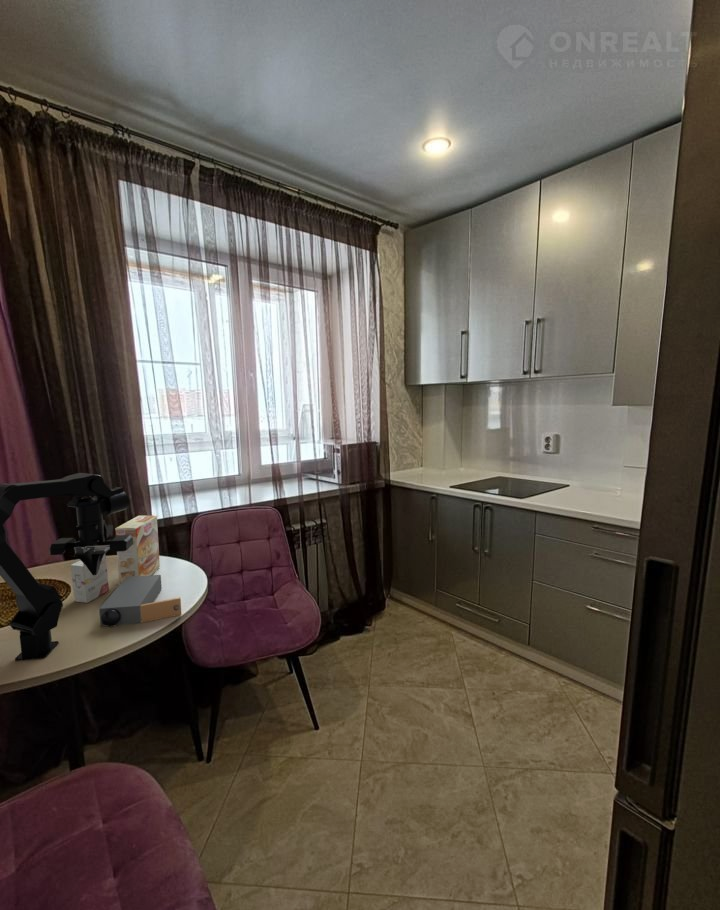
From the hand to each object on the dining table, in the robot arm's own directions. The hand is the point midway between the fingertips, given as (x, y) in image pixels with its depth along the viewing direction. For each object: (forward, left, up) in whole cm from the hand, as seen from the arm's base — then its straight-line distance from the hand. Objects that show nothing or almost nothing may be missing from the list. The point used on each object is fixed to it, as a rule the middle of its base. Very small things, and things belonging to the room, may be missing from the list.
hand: (95, 574), depth 114 cm
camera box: (+6, -7, -13) cm, 16 cm away
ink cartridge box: (+15, +8, -13) cm, 22 cm away
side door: (-3, -17, -13) cm, 22 cm away
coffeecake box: (+28, -2, -13) cm, 31 cm away
